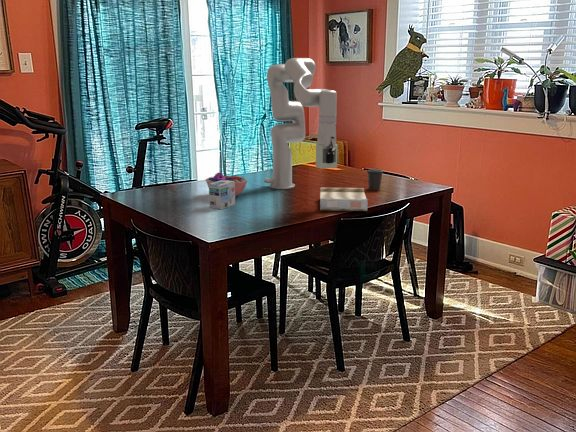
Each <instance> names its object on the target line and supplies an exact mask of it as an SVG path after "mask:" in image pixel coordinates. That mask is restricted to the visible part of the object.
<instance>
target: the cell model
mask: <svg viewBox="0 0 576 432" xmlns="http://www.w3.org/2000/svg"><path fill="white" fill-rule="evenodd" d="M223 174H224V173H222V172H221V171H219V172H217V173H215V174H214V175H213V176H210V177H207V178H206V179H205V182H206V184H207V188H208V189H209V183H213V182H217V181H220V180H229V181H235V197H237V196H238V195H240V194H242V192H244V190H245V188H246V186H247V182H248V179H246V178H244V177H242V176H237V175H223Z"/></svg>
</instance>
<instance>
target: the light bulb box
mask: <svg viewBox="0 0 576 432" xmlns="http://www.w3.org/2000/svg"><path fill="white" fill-rule="evenodd" d="M208 195H209V196H208V197H209V198H208V199H209V202H208V203H209V208H211V209H212V208H213V209H217V210H223V209H226V208H229V207H232V206H235V205H236V196H235V181H229V180H220V181H217V182H213V183H209V188H208Z"/></svg>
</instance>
